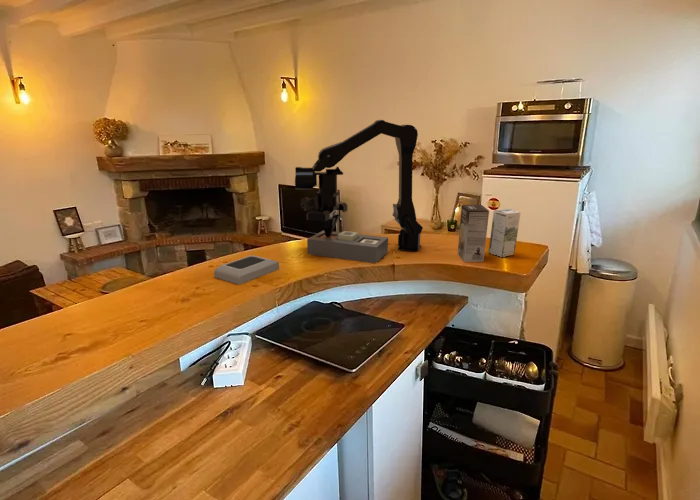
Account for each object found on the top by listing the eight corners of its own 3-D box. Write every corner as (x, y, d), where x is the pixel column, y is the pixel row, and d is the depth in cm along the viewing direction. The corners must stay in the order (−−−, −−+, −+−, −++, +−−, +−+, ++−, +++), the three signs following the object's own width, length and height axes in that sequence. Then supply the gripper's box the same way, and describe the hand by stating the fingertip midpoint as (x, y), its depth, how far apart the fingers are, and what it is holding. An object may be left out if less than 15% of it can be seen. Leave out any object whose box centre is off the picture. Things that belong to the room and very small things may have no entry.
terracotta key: (338, 245, 138) (338, 235, 137) (332, 249, 134) (332, 239, 133) (324, 243, 140) (324, 234, 139) (317, 247, 136) (317, 238, 135)
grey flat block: (278, 258, 119) (238, 273, 107) (279, 270, 120) (239, 286, 108) (254, 252, 124) (213, 265, 112) (255, 264, 125) (214, 278, 113)
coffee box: (456, 253, 136) (461, 204, 132) (476, 253, 136) (481, 204, 131) (463, 262, 127) (468, 210, 123) (484, 262, 127) (490, 210, 123)
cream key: (378, 249, 133) (378, 240, 132) (373, 254, 129) (373, 244, 128) (363, 248, 135) (364, 238, 134) (358, 252, 131) (358, 242, 130)
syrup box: (501, 251, 139) (506, 207, 134) (515, 256, 133) (520, 211, 129) (488, 253, 136) (492, 209, 132) (501, 258, 131) (507, 212, 127)
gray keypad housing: (387, 252, 136) (388, 237, 135) (376, 263, 125) (376, 247, 124) (323, 244, 144) (323, 230, 143) (307, 254, 134) (307, 239, 132)
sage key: (358, 241, 135) (358, 232, 134) (352, 245, 131) (352, 235, 130) (343, 240, 137) (343, 230, 136) (337, 243, 132) (337, 234, 132)
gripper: (317, 183, 143) (318, 228, 147) (290, 191, 126) (292, 241, 130) (348, 185, 139) (347, 231, 143) (324, 194, 122) (324, 245, 127)
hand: (328, 237), depth 136 cm, fingers closed, pressing on terracotta key
